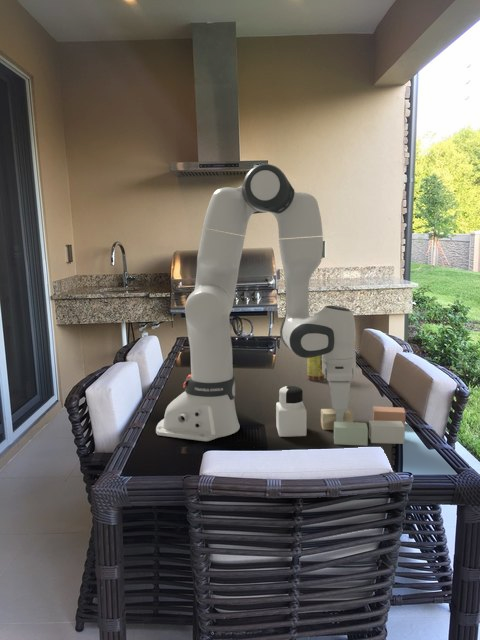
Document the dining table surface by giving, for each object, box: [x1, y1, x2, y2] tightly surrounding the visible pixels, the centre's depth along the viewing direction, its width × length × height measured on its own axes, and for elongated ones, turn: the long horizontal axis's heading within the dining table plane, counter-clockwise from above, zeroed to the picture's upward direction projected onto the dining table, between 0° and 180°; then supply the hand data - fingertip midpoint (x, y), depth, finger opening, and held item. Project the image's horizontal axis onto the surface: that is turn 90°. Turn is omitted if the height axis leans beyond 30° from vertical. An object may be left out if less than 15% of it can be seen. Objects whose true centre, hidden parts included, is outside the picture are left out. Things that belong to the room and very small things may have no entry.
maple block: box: [320, 408, 354, 431], centre depth 134 cm, size 8×4×4 cm, turn 89°
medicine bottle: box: [275, 385, 308, 438], centre depth 131 cm, size 7×7×12 cm
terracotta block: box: [372, 405, 406, 427], centre depth 135 cm, size 8×4×4 cm, turn 79°
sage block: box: [333, 421, 369, 447], centre depth 124 cm, size 8×4×4 cm, turn 81°
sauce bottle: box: [306, 355, 325, 382], centre depth 180 cm, size 7×6×20 cm
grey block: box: [368, 419, 406, 445], centre depth 125 cm, size 8×4×4 cm, turn 84°
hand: (339, 416), depth 134 cm, fingers open, 8 cm apart
